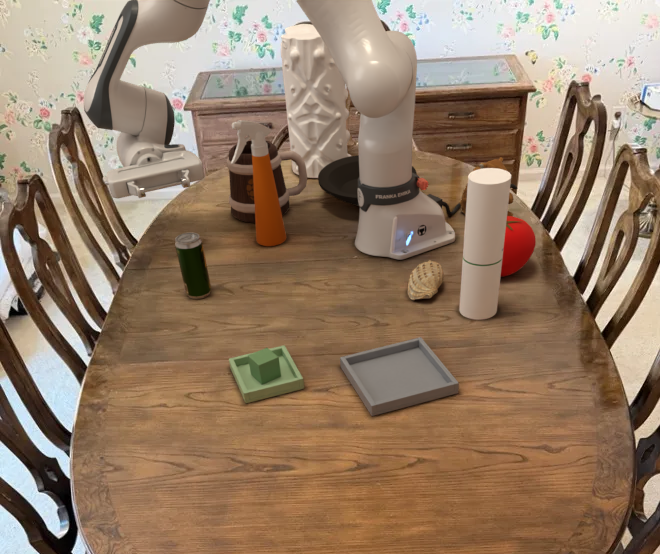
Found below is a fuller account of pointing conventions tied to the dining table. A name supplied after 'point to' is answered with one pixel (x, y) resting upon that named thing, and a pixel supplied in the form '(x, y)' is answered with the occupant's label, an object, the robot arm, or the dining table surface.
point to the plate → (343, 179)
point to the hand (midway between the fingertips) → (164, 188)
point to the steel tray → (398, 376)
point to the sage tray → (278, 386)
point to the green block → (264, 365)
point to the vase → (313, 99)
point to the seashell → (425, 280)
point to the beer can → (193, 265)
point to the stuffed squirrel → (490, 164)
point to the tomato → (517, 245)
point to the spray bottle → (261, 183)
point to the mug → (244, 186)
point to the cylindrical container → (484, 241)
